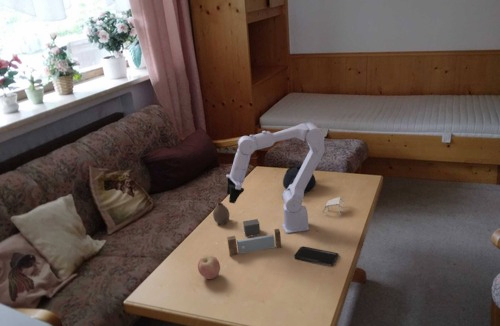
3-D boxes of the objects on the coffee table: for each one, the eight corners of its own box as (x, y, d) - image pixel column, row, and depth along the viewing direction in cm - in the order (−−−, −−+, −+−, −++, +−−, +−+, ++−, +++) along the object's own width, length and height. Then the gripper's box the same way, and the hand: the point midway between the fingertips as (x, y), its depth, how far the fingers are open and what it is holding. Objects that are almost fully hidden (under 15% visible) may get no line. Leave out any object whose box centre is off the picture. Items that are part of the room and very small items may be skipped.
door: (274, 245, 177) (273, 234, 175) (275, 248, 174) (274, 237, 173) (238, 251, 175) (236, 240, 173) (238, 254, 173) (237, 243, 171)
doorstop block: (258, 229, 190) (257, 219, 188) (260, 234, 186) (259, 223, 184) (244, 231, 189) (243, 221, 187) (245, 236, 185) (244, 226, 183)
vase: (228, 226, 194) (225, 207, 191) (212, 226, 196) (209, 207, 192) (231, 218, 200) (229, 200, 197) (216, 218, 202) (214, 200, 199)
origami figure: (339, 219, 191) (339, 209, 189) (321, 215, 196) (320, 205, 194) (350, 206, 200) (350, 196, 198) (332, 203, 205) (332, 193, 203)
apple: (196, 274, 164) (193, 255, 161) (216, 267, 167) (214, 249, 164) (203, 286, 158) (200, 266, 155) (224, 279, 160) (221, 260, 157)
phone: (301, 245, 174) (339, 253, 167) (301, 248, 174) (339, 256, 167) (293, 257, 168) (332, 265, 160) (293, 259, 168) (332, 268, 161)
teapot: (308, 201, 208) (307, 177, 204) (276, 198, 214) (274, 174, 210) (322, 179, 229) (321, 156, 225) (292, 176, 235) (291, 154, 231)
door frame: (280, 244, 177) (278, 228, 175) (281, 247, 175) (280, 231, 173) (229, 252, 175) (227, 237, 173) (229, 256, 173) (227, 240, 170)
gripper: (227, 157, 181) (219, 188, 186) (232, 172, 168) (222, 204, 172) (244, 161, 183) (235, 191, 187) (250, 175, 170) (240, 208, 174)
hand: (230, 198), depth 180 cm, fingers open, 7 cm apart
